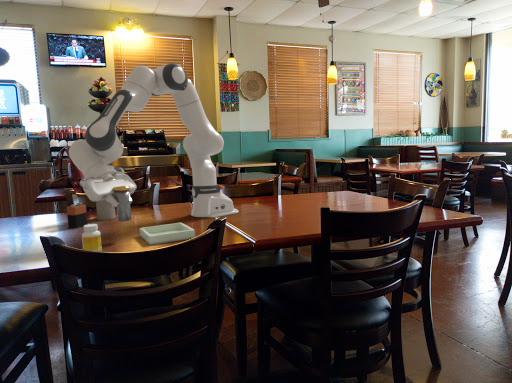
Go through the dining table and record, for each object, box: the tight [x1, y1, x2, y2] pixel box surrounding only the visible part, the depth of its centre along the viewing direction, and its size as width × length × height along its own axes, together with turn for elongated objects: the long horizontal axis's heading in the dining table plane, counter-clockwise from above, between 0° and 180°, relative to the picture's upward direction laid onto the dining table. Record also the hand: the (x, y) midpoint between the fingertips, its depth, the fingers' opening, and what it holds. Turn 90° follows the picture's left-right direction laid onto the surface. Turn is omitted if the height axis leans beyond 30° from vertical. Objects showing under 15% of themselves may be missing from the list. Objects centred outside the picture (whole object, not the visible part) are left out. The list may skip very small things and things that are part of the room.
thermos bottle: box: [95, 199, 116, 221], centre depth 178 cm, size 8×8×28 cm
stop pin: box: [113, 186, 132, 223], centre depth 135 cm, size 6×6×12 cm
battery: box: [66, 202, 88, 229], centre depth 163 cm, size 4×7×10 cm, turn 160°
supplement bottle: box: [81, 223, 103, 252], centre depth 118 cm, size 5×5×10 cm
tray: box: [139, 222, 196, 246], centre depth 139 cm, size 16×16×3 cm
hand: (124, 203), depth 134 cm, fingers closed on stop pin, 5 cm apart
